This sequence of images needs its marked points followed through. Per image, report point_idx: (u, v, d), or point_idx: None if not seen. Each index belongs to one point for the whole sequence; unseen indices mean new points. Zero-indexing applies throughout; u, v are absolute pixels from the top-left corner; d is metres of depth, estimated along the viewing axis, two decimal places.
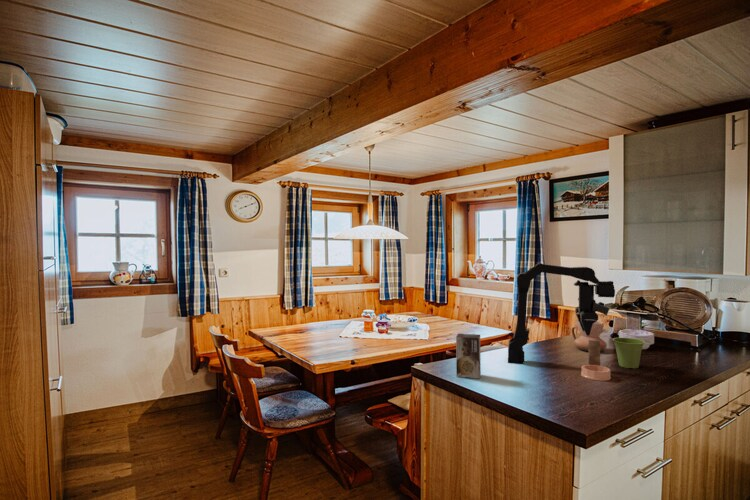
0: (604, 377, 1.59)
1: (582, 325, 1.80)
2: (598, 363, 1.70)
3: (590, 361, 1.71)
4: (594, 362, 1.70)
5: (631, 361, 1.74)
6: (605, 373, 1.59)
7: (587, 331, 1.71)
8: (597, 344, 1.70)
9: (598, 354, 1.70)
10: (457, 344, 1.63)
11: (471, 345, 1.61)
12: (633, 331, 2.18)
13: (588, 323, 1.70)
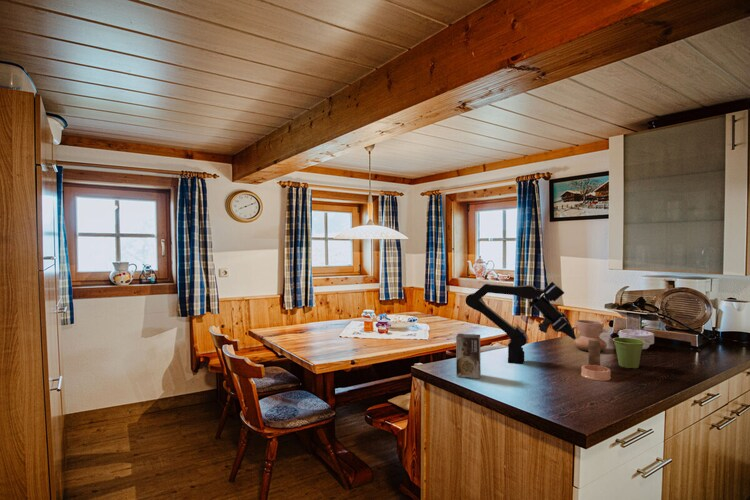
0: (604, 377, 1.59)
1: None
2: (598, 363, 1.70)
3: (590, 361, 1.71)
4: (594, 362, 1.70)
5: (631, 361, 1.74)
6: (605, 373, 1.59)
7: None
8: (597, 344, 1.70)
9: (598, 354, 1.70)
10: (457, 344, 1.63)
11: (471, 345, 1.61)
12: (633, 331, 2.18)
13: None
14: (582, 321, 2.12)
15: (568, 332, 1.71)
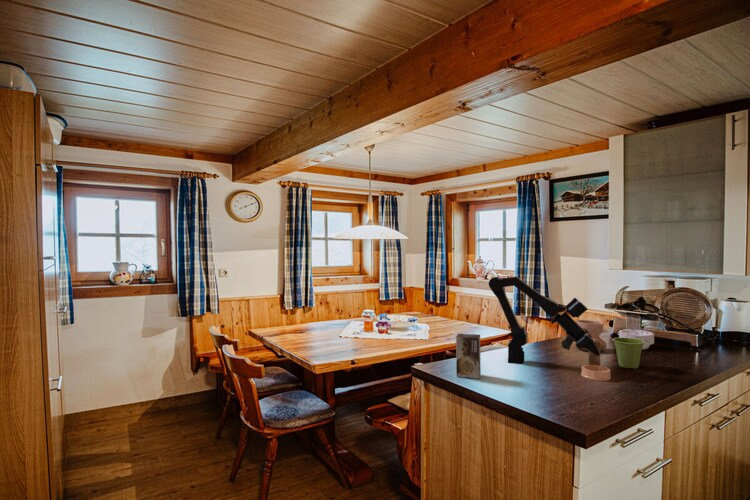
0: (604, 377, 1.59)
1: None
2: (598, 363, 1.70)
3: (590, 361, 1.71)
4: (594, 362, 1.70)
5: (631, 361, 1.74)
6: (605, 373, 1.59)
7: None
8: (597, 344, 1.70)
9: None
10: (457, 344, 1.63)
11: (471, 345, 1.61)
12: (633, 331, 2.18)
13: None
14: (582, 321, 2.12)
15: (592, 348, 1.69)
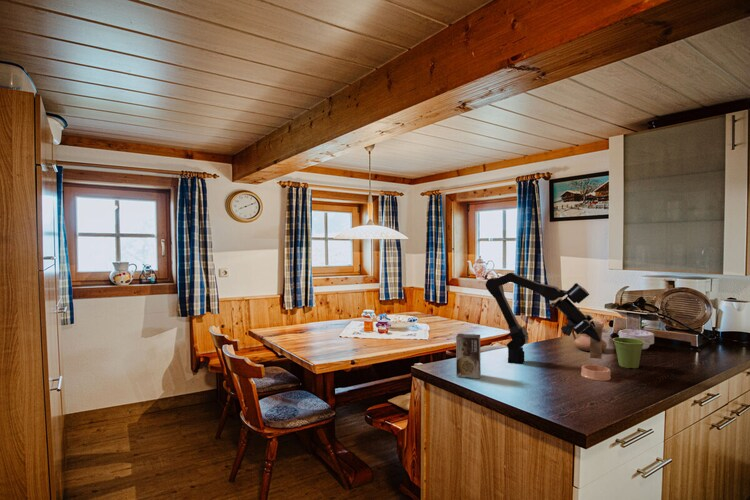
0: (604, 377, 1.59)
1: None
2: (599, 350, 1.66)
3: (591, 347, 1.67)
4: (595, 348, 1.67)
5: (631, 361, 1.74)
6: (605, 373, 1.59)
7: None
8: (598, 330, 1.66)
9: None
10: (457, 344, 1.63)
11: (471, 345, 1.61)
12: (633, 331, 2.18)
13: None
14: None
15: (592, 334, 1.66)
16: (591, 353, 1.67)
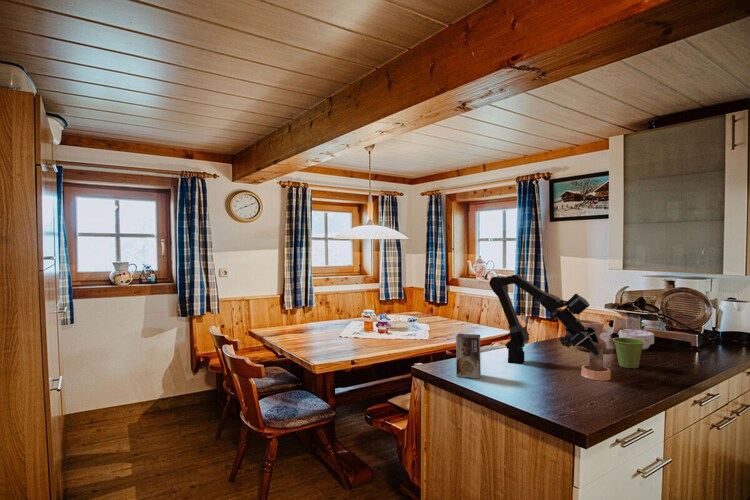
0: (604, 377, 1.59)
1: None
2: (598, 366, 1.61)
3: (590, 363, 1.63)
4: (594, 365, 1.62)
5: (631, 361, 1.74)
6: (605, 373, 1.59)
7: None
8: (598, 346, 1.61)
9: (598, 357, 1.61)
10: (457, 344, 1.63)
11: (471, 345, 1.61)
12: (633, 331, 2.18)
13: None
14: (582, 321, 2.12)
15: (590, 347, 1.61)
16: (590, 369, 1.63)
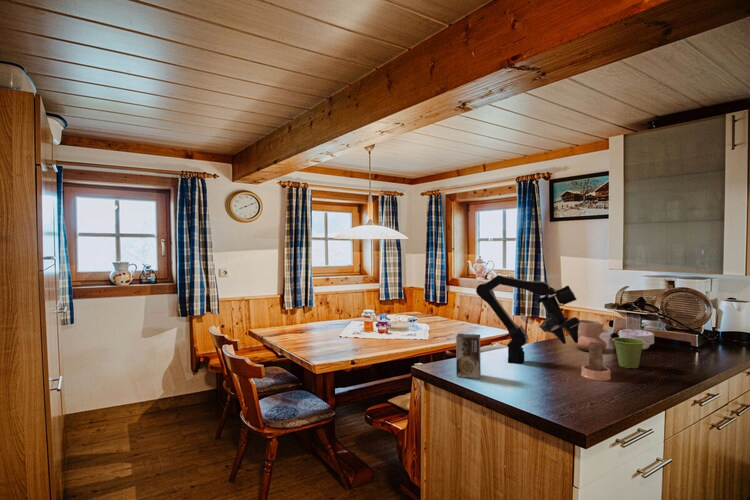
0: (604, 377, 1.59)
1: None
2: (598, 366, 1.62)
3: (590, 363, 1.63)
4: (594, 365, 1.62)
5: (631, 361, 1.74)
6: (605, 373, 1.59)
7: None
8: (597, 346, 1.62)
9: (598, 357, 1.62)
10: (457, 344, 1.63)
11: (471, 345, 1.61)
12: (633, 331, 2.18)
13: None
14: (582, 321, 2.12)
15: (574, 334, 1.70)
16: (590, 369, 1.63)
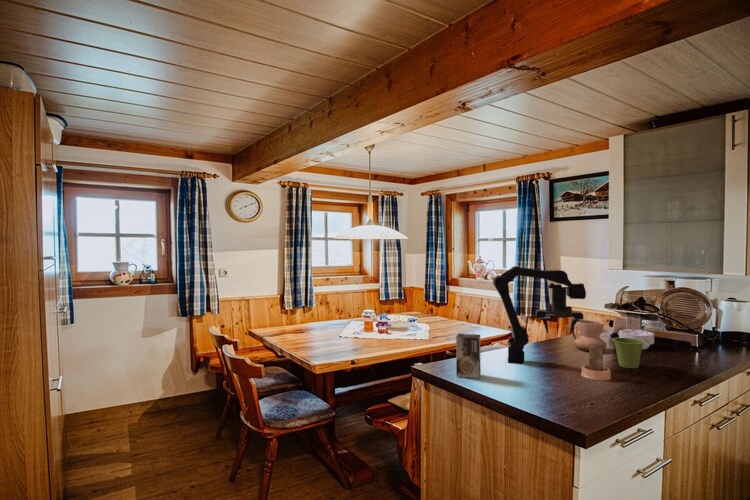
0: (604, 377, 1.59)
1: (570, 328, 1.81)
2: (598, 366, 1.62)
3: (590, 363, 1.63)
4: (594, 365, 1.62)
5: (631, 361, 1.74)
6: (605, 373, 1.59)
7: None
8: (597, 346, 1.62)
9: (598, 357, 1.61)
10: (457, 344, 1.63)
11: (471, 345, 1.61)
12: (633, 331, 2.18)
13: None
14: (582, 321, 2.12)
15: None
16: (590, 369, 1.63)
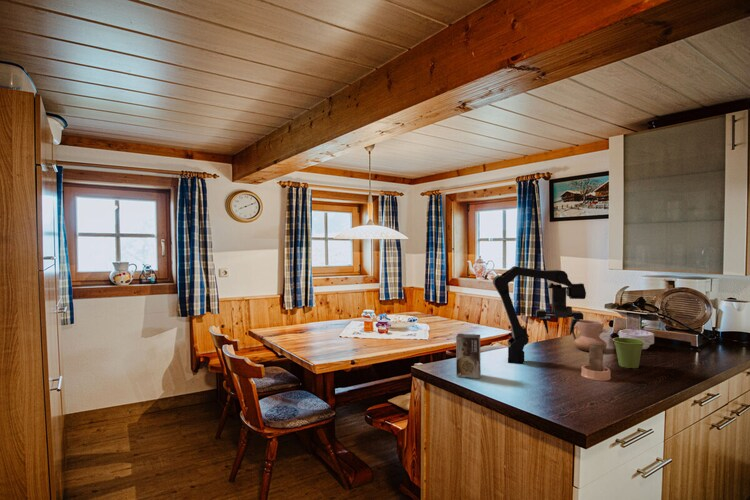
0: (604, 377, 1.59)
1: (570, 328, 1.81)
2: (598, 366, 1.61)
3: (590, 363, 1.63)
4: (594, 365, 1.62)
5: (631, 361, 1.74)
6: (605, 373, 1.59)
7: None
8: (597, 346, 1.62)
9: (598, 357, 1.61)
10: (457, 344, 1.63)
11: (471, 345, 1.61)
12: (633, 331, 2.18)
13: None
14: (582, 321, 2.12)
15: None
16: (590, 369, 1.63)
